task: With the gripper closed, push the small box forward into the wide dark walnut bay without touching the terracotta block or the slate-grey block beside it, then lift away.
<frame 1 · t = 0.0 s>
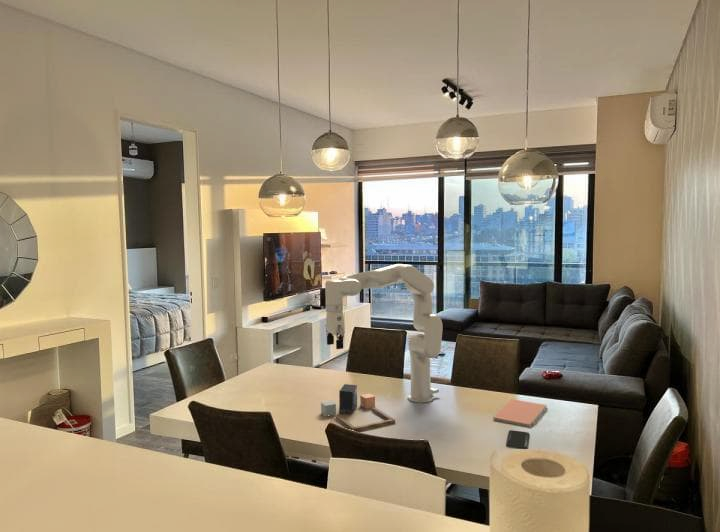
hand: (335, 346, 228), 31 cm above the table, tool pointing down, fingers open, 9 cm apart
walnut bay: (364, 420, 224), on the table
notebook: (521, 415, 229), on the table
terracotta block: (367, 406, 242), on the table
phone: (517, 441, 201), on the table
small box: (348, 410, 238), on the table
slate block: (328, 414, 233), on the table
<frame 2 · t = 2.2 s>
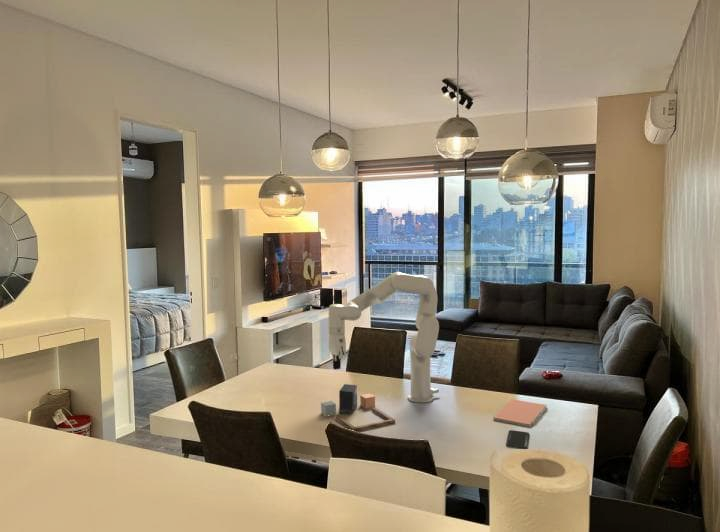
hand: (336, 368, 246), 17 cm above the table, tool pointing down, fingers closed
nothing on the table moved.
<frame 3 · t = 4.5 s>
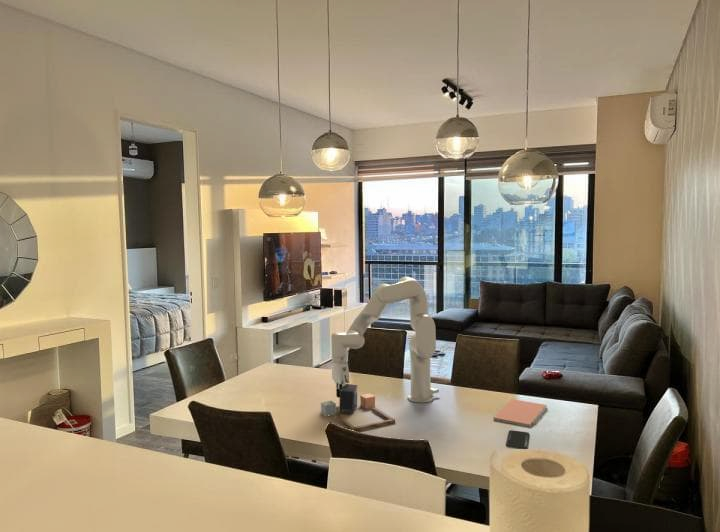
hand: (340, 396, 245), 4 cm above the table, tool pointing down, fingers closed
small box: (348, 410, 238), on the table, touching gripper
everything else where it was.
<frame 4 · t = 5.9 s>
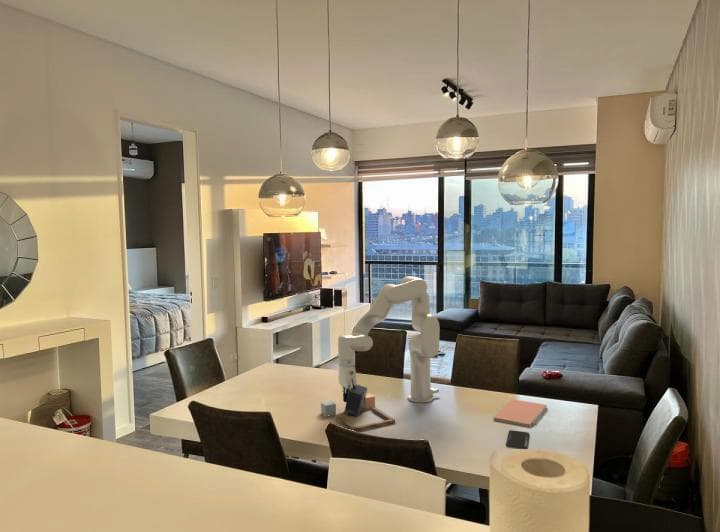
hand: (347, 401, 238), 4 cm above the table, tool pointing down, fingers closed
small box: (354, 411, 235), on the table
everything else where it was.
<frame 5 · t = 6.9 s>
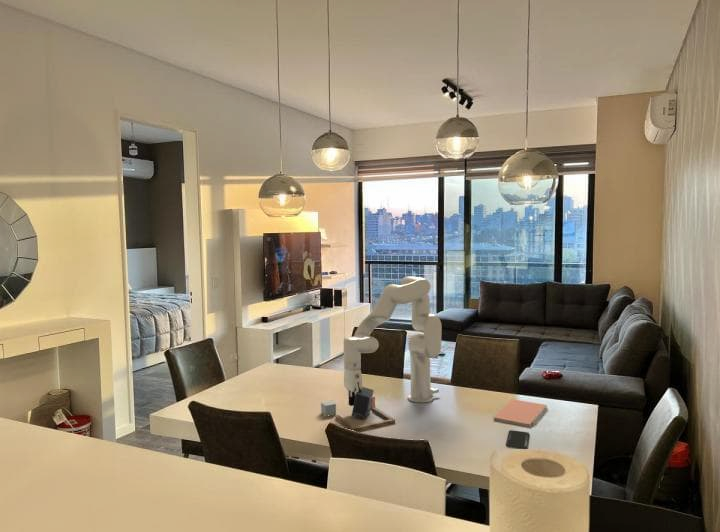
hand: (352, 404, 233), 4 cm above the table, tool pointing down, fingers closed
small box: (361, 414, 231), on the table, touching gripper
everything else where it was.
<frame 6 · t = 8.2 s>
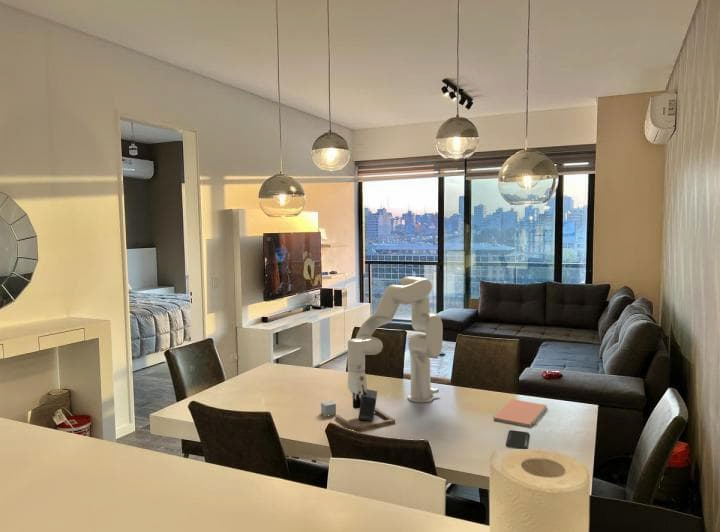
hand: (356, 407, 229), 4 cm above the table, tool pointing down, fingers closed
small box: (366, 416, 228), on the table, touching gripper
everything else where it was.
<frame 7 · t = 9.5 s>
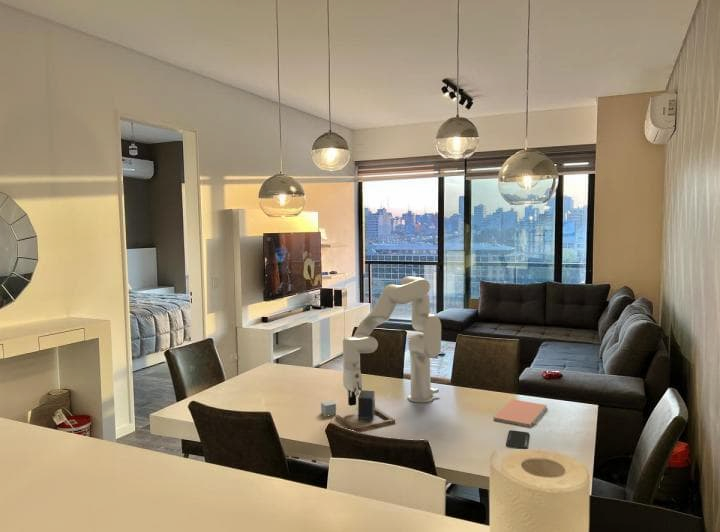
hand: (352, 404, 234), 4 cm above the table, tool pointing down, fingers closed
small box: (366, 417, 228), on the table
everything else where it was.
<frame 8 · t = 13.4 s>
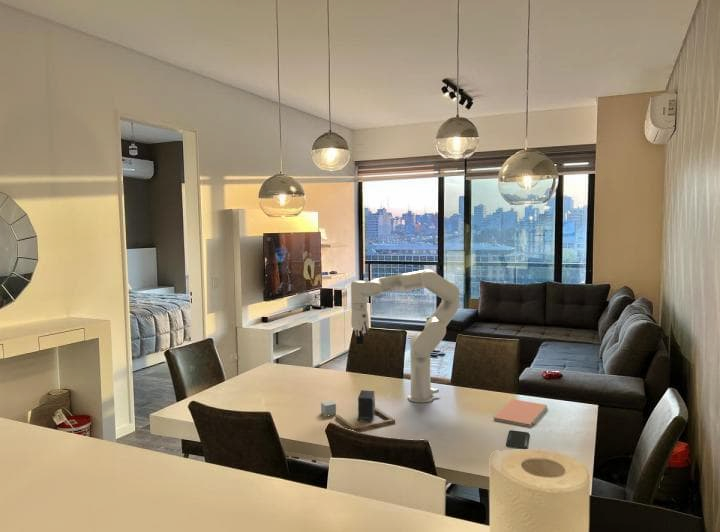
hand: (359, 343, 251), 27 cm above the table, tool pointing down, fingers closed
nothing on the table moved.
at the end: small box inside the target area on the walnut bay (3.9 cm from its centre), point 0.0 cm above the walnut bay's base; terracotta block moved 0.1 cm from its start; slate block moved 0.1 cm from its start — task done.
